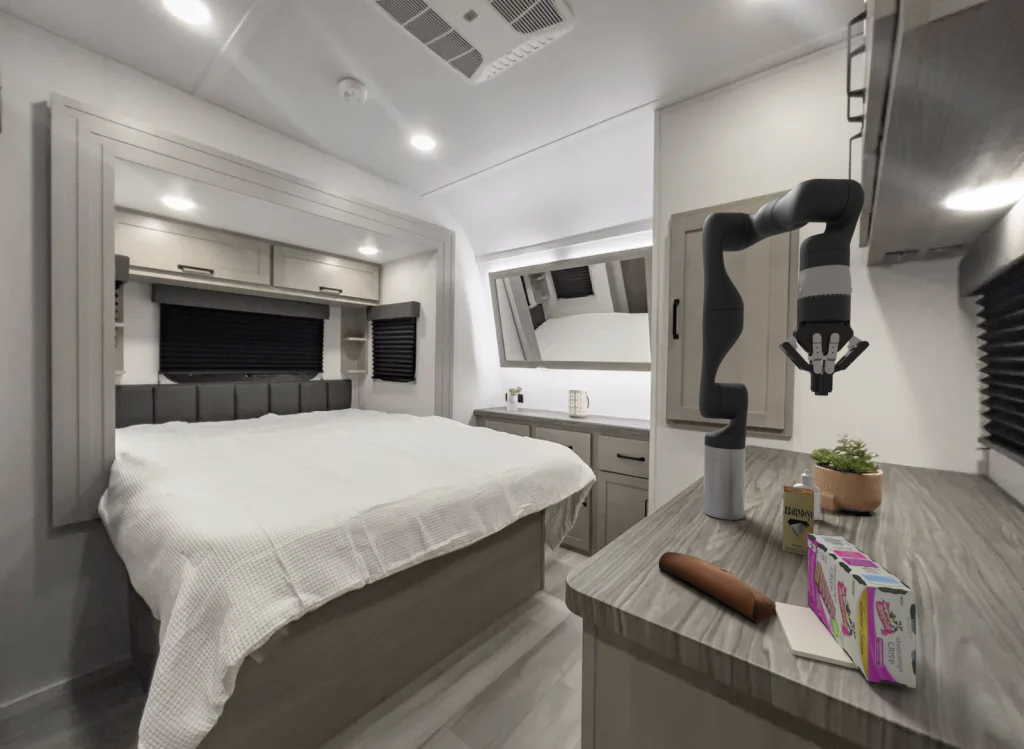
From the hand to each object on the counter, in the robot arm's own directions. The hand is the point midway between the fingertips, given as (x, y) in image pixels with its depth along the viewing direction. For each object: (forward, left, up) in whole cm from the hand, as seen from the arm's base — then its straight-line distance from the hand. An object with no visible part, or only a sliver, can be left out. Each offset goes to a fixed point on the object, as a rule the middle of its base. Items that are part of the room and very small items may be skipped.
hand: (820, 395), depth 72 cm
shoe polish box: (-13, 0, -32) cm, 35 cm away
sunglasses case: (+11, -17, -33) cm, 38 cm away
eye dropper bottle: (-36, +7, -32) cm, 49 cm away
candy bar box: (+12, -2, -26) cm, 29 cm away
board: (+19, -3, -32) cm, 37 cm away
